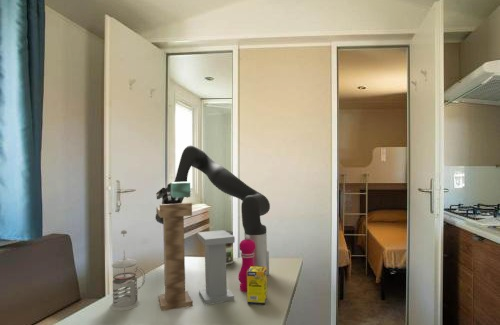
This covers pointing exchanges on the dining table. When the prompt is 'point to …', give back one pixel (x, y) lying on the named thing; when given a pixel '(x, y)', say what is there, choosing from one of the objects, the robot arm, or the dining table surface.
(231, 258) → the coffee can
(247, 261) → the pepper mill
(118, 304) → the french press
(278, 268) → the dining table surface
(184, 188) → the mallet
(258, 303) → the supplement box
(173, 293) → the walnut stand
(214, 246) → the slate pedestal
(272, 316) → the dining table surface
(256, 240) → the robot arm
